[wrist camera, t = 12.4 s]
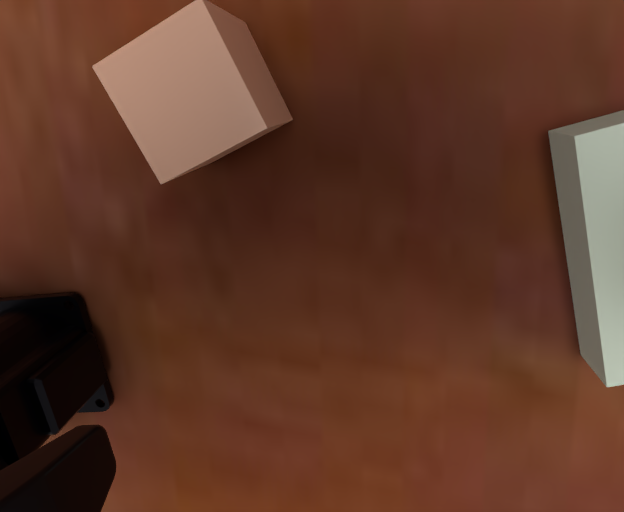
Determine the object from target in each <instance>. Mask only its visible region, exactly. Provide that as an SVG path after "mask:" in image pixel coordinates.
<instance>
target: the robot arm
mask: <svg viewBox="0 0 624 512" xmlns="http://www.w3.org/2000/svg"><path fill="white" fill-rule="evenodd" d="M69 301H71V302H72V303H73V305H74V307H73V306H72V305H70V303H69ZM100 399H101V400H103V401H104V402H102V401H101V400H100ZM112 404H113V396H112V393H111V389H110V386H109V383H108V380H107V375H106V372H105V369H104V366H103V362H102V359H101V356H100V353H99V349H98V346H97V343H96V340H95V337H94V334H93V331H92V328H91V325H90V321H89V318H88V315H87V312H86V308H85V305H84V302H83V300H82V298H81V297H80V296H79V295H78V294H76V293H71V292H70V293H58V294H46V295H34V296H21V297H9V298H0V512H101V510H102V507H103V505H104V502H105V500H106V497H107V495H108V492H109V489H110V487H111V484H112V482H113V479H114V476H115V472H116V461H115V457H114V454H113V451H112V448H111V445H110V442H109V438H108V435H107V432H106V430H105V429H104V428H103V427H102V426H100V425H81V426H78V427H75V428H74V429H72V430H70V431H68V432H67V433H65V434H63V435H62V436H60V437H58V438H56V439H55V440H53V441H51V442H49V443H48V444H46V445H44V446H42V445H43V443H44V442H45V441H46V440H47V439H48V438H49V437H50V436H51V435H56V434H57V433H59V431H60V430H61V429H62V428H63V427H64V426H65V425H66V424H67V423H68V422H69V421H70V420H71V418H72V417H73V416H74V415H75V414H76V413H78V412H103V411H106V410H108V409H109V407H110V406H111V405H112ZM41 446H42V447H41ZM40 447H41V448H40Z"/></svg>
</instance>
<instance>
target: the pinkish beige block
mask: <svg viewBox="0 0 624 512" xmlns="http://www.w3.org/2000/svg"><path fill="white" fill-rule="evenodd" d="M92 67H93V69H94V71H95V73H96V74H97V76H98V78H99V79H100V81H101V83H102V85H103V86H104V88H105V90H106V91H107V93H108V95H109V97H110V98H111V100H112V102H113V103H114V105H115V107H116V108H117V110H118V112H119V114H120V115H121V117H122V119H123V120H124V122H125V124H126V126H127V127H128V129H129V131H130V132H131V134H132V136H133V138H134V139H135V141H136V143H137V144H138V146H139V148H140V150H141V151H142V153H143V155H144V156H145V158H146V160H147V162H148V163H149V165H150V167H151V168H152V170H153V172H154V173H155V175H156V177H157V179H158V180H159V182H160V184H164V183H166V182H168V181H171V180H173V179H175V178H178V177H180V176H182V175H185V174H187V173H189V172H192V171H194V170H196V169H199V168H201V167H203V166H206V165H208V164H210V163H212V162H214V161H216V160H218V159H220V158H222V157H224V156H225V155H227V154H229V153H231V152H233V151H235V150H237V149H239V148H241V147H242V146H244V145H246V144H248V143H250V142H252V141H254V140H256V139H258V138H259V137H261V136H263V135H265V134H267V133H269V132H271V131H273V130H275V129H277V128H278V127H280V126H282V125H284V124H286V123H288V122H290V121H292V120H293V119H292V117H291V114H290V112H289V110H288V108H287V106H286V104H285V102H284V100H283V98H282V96H281V94H280V92H279V90H278V88H277V86H276V84H275V82H274V80H273V78H272V76H271V74H270V72H269V70H268V68H267V66H266V64H265V61H264V59H263V57H262V55H261V53H260V51H259V49H258V47H257V45H256V43H255V41H254V39H253V37H252V35H251V33H250V31H249V29H248V27H247V25H246V23H245V22H244V21H242V20H240V19H239V18H237V17H235V16H233V15H232V14H230V13H228V12H226V11H225V10H223V9H221V8H219V7H218V6H216V5H214V4H212V3H211V2H209V1H207V0H195V1H194V2H192V3H190V4H189V5H187V6H186V7H184V8H183V9H181V10H180V11H178V12H176V13H175V14H173V15H172V16H170V17H169V18H167V19H165V20H164V21H162V22H161V23H159V24H158V25H156V26H154V27H153V28H151V29H150V30H148V31H147V32H145V33H143V34H142V35H140V36H139V37H137V38H136V39H134V40H133V41H131V42H129V43H128V44H126V45H125V46H123V47H122V48H120V49H118V50H117V51H115V52H114V53H112V54H111V55H109V56H107V57H106V58H104V59H103V60H101V61H100V62H98V63H96V64H95V65H93V66H92Z"/></svg>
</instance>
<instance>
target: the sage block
mask: <svg viewBox="0 0 624 512" xmlns="http://www.w3.org/2000/svg"><path fill="white" fill-rule="evenodd" d="M548 134H549V141H550V148H551V155H552V162H553V169H554V176H555V182H556V189H557V196H558V203H559V210H560V217H561V224H562V230H563V237H564V244H565V251H566V258H567V265H568V272H569V278H570V285H571V292H572V299H573V306H574V313H575V320H576V326H577V333H578V340H579V347H580V354H581V356H582V357H583V358H584V360H585V361H586V362H587V363H588V365H589V366H590V367H591V368H592V370H593V371H594V372H595V373H596V374H597V376H598V377H599V378H600V379H601V381H602V382H603V383H604V384H605V385H606V387H612V386H618V385H624V110H622V111H619V112H615V113H611V114H608V115H604V116H600V117H597V118H593V119H590V120H586V121H582V122H579V123H575V124H571V125H568V126H564V127H560V128H557V129H553V130H550V131H548Z"/></svg>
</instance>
